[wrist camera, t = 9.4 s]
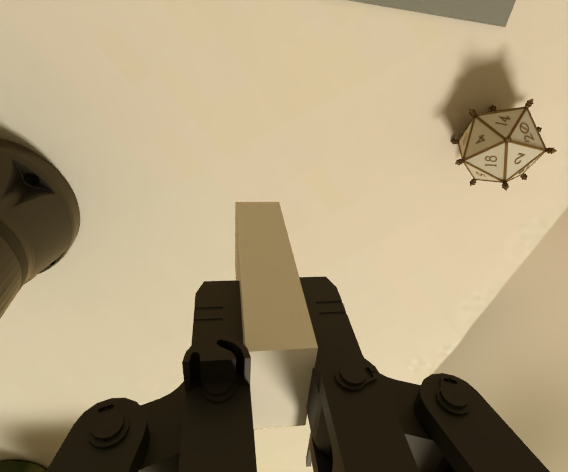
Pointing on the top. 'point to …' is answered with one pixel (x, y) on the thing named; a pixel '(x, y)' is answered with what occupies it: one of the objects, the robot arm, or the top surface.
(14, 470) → the green bottle
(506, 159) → the game die
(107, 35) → the top surface
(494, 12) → the mat
